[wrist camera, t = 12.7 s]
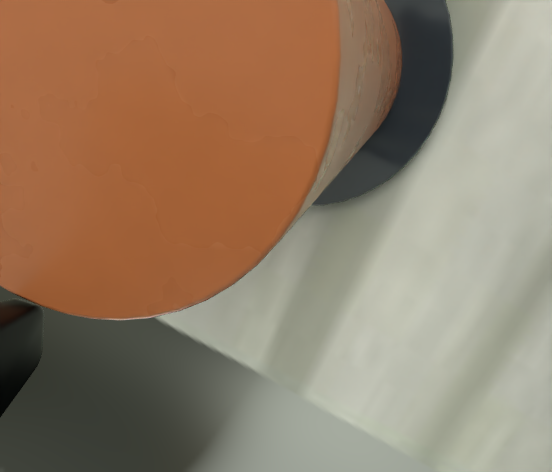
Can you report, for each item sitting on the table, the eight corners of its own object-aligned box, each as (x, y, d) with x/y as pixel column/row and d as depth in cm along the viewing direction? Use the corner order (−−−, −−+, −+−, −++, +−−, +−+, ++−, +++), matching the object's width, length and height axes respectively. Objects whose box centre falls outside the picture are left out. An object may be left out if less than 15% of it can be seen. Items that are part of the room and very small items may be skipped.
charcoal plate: (436, -136, 16) (437, -144, 15) (464, 184, 19) (466, 189, 18) (148, -51, 19) (137, -55, 18) (208, 214, 22) (201, 219, 21)
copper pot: (438, 4, 16) (463, -169, 4) (352, 192, 19) (220, 405, 7) (169, -101, 18) (-374, -456, 6) (122, 89, 20) (-327, 118, 8)
